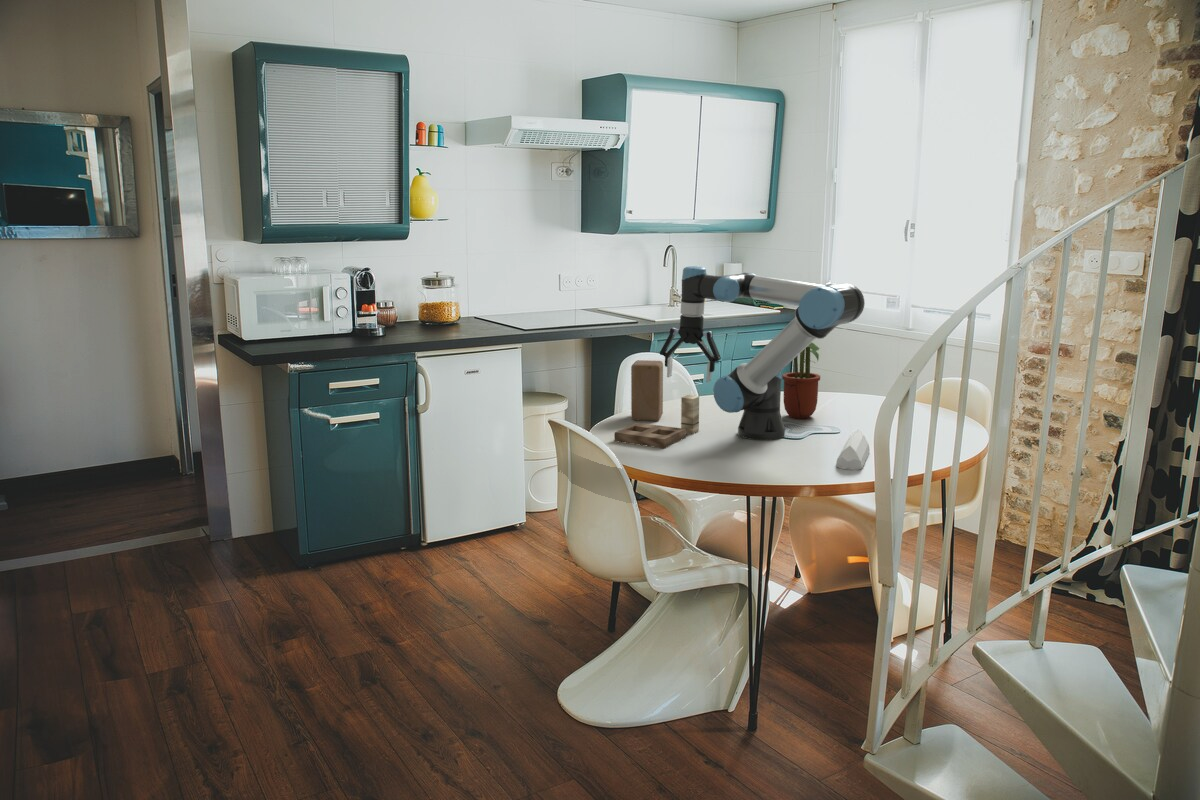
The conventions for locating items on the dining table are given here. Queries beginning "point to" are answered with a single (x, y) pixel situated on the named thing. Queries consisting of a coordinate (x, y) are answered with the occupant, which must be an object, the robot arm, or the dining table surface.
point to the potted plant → (801, 386)
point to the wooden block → (647, 390)
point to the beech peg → (690, 413)
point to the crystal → (854, 452)
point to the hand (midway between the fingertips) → (688, 379)
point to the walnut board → (650, 435)
